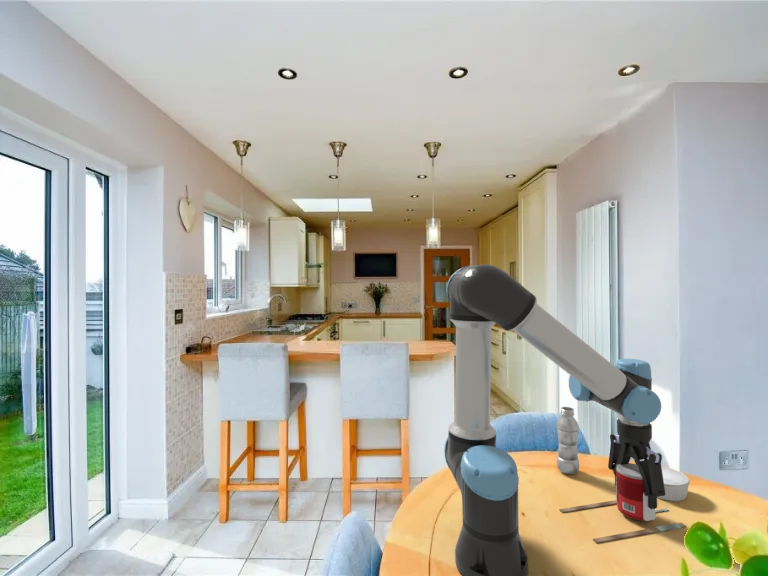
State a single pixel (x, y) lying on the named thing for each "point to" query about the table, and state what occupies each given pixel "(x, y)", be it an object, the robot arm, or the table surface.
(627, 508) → the canned food
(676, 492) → the ramekin
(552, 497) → the table surface
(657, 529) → the guide strips
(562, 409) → the plastic bottle
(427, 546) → the table surface
